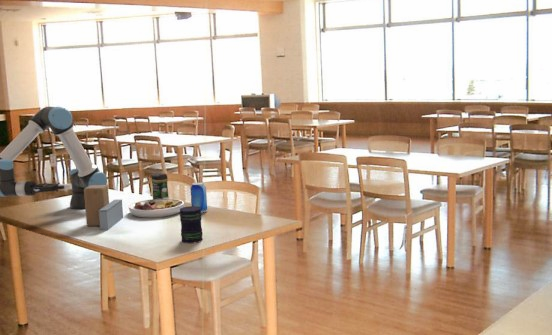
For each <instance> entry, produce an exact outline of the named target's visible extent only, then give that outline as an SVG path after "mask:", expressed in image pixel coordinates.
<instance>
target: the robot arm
mask: <svg viewBox="0 0 552 335" xmlns="http://www.w3.org/2000/svg"><path fill="white" fill-rule="evenodd" d="M74 126H75V125H74V123H73V115H72V113H71V111H70V110H69V109H67V108H65V107H62V106H45V107H43V108H41V109H39V111H37V112H36V113H35V114H34V115H33V116H31V118H30V119H29V120H28V124H27V125H26V126H25V127H24V129H22V130H21V131H20V133H18V134H17V136H15V138H14V139H13V140H12V141H11V142H10V143H9V144H8V145H7V146H6V147H4V149H3V150H2V151H0V197H3V198H4V197H5V198H8V197H9V198H10V197H21V198H23V197H25V196H28V197H29V196H35V195H36V194H37V193H45V192H46V193H47V192H59V191H68V190H71V197H70V198H71V199H70V202H69V207H70V209H73V210H82V209H84V210H85V199H84V189H85V188H86V187H88V186H90V185H107V183H108V178H107V174H105V173H104V172H102V171H101V170H100V169H99V167H98V166H97V164H94V163H93V162H92V160H91V159H90V157H89V155H88V153H87V152H86V150H85V149H84V147H83V145H82V143H81V141H80V140H79V138H78V136H77V134H76V133H75V130H74V129H73V128H74ZM47 129H50V130H51V132H52V134H53V135H54V136H57V137H58V138H59V140H60V141H61V143H62V145H63V147H64V148H65V150H66V152H67V154H68V156H69V157H70V159H71V160H72V162H73V163H74V166H75V168H72V169H71V170H70V173H69V174H70V175H69V176H70V183H60V182H57V183H47V182H44V183H36V181H34V180H26V181H25V180H23V181H22V180H21V181H16V176H15V169H14V167H15V166H14V162H13V161H15V160H16V158H18V156H19V155H20V154H22V152H23V151H25V150H26V148H27V147H28V146H29V145H30V144H31V143H32V142H33V141H34V140H35V138H37V136H39V134H43V133H44V132H45V131H47Z"/></svg>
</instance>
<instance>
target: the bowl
mask: <svg viewBox="0 0 552 335" xmlns="http://www.w3.org/2000/svg"><path fill="white" fill-rule="evenodd" d="M183 207H185V205H184V201H183V200H181V199H174V198H169V199H153V198H152V199H146V200H141V201H140V200H139V201H136V202H134V203H131V204H129V205H128V210H129V212H130V214H131V215H133V216H134V217H137V218H138V217H139V218H145V219H146V218H147V219H149V218H151V219H154V218H164V217H170V216H174V215H176V214H180V208H183Z"/></svg>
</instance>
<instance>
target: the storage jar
mask: <svg viewBox="0 0 552 335" xmlns="http://www.w3.org/2000/svg"><path fill="white" fill-rule="evenodd" d="M179 220H180V227H181V228H180V237H181V242H182V243H185V244H195V243H194V242H196V243H199V241H200V242H202V241H203V228H202V213H201V207H197V206H192V205H191V206H184V207H183V208H180V212H179Z"/></svg>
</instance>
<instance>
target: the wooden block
mask: <svg viewBox="0 0 552 335" xmlns="http://www.w3.org/2000/svg"><path fill="white" fill-rule="evenodd" d="M109 197H110V196H109V187H108V185H107V184H106V185H90V186H88V187H86V188H85V189H84V199H85V209H84V211H85V220H86V221H85V222H86V226H87V227H100V219H99V210H100V209H102V208H103V207H104V206H106V205H107V204H109V203H110V198H109Z"/></svg>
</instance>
